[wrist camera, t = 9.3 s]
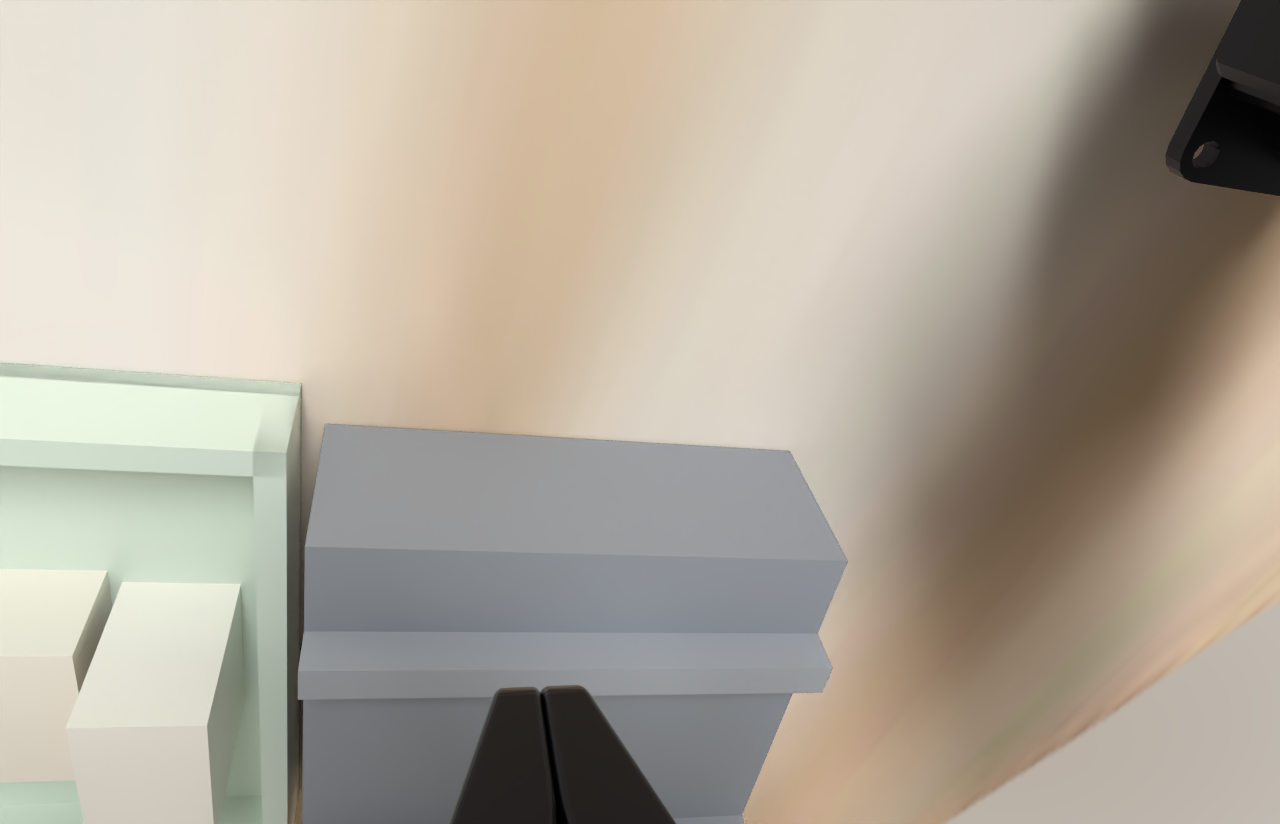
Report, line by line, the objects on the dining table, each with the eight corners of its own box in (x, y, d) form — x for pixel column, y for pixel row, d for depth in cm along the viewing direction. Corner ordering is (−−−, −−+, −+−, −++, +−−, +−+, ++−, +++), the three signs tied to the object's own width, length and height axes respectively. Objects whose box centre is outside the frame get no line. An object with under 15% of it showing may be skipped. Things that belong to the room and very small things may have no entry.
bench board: (789, 450, 23) (865, 594, 19) (683, 757, 29) (723, 914, 25) (325, 423, 20) (298, 585, 16) (317, 769, 27) (296, 948, 23)
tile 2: (207, 725, 19) (65, 728, 18) (214, 843, 21) (88, 850, 20) (241, 584, 22) (122, 581, 21) (245, 698, 24) (137, 699, 23)
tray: (301, 383, 20) (286, 453, 18) (298, 792, 27) (287, 874, 25) (-341, 338, 17) (-448, 415, 15) (-151, 808, 24) (-204, 903, 22)
